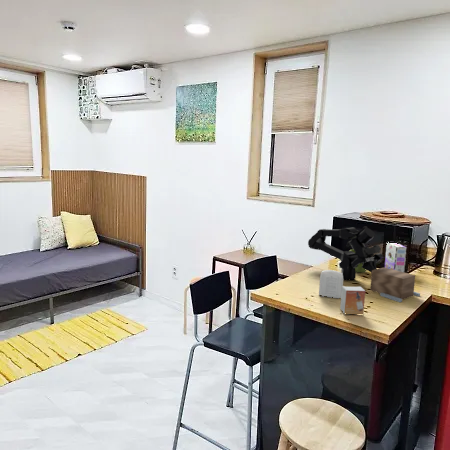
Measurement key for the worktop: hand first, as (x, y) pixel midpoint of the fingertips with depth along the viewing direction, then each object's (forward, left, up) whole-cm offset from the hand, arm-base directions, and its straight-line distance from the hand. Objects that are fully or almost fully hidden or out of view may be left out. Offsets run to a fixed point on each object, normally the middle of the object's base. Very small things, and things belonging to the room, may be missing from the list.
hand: (377, 275), depth 190 cm
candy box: (+20, +28, -7) cm, 35 cm away
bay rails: (+7, -10, -7) cm, 14 cm away
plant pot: (+1, +30, -7) cm, 31 cm away
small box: (-22, -33, -7) cm, 40 cm away
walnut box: (+5, -7, -7) cm, 11 cm away
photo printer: (-26, -14, -7) cm, 30 cm away
